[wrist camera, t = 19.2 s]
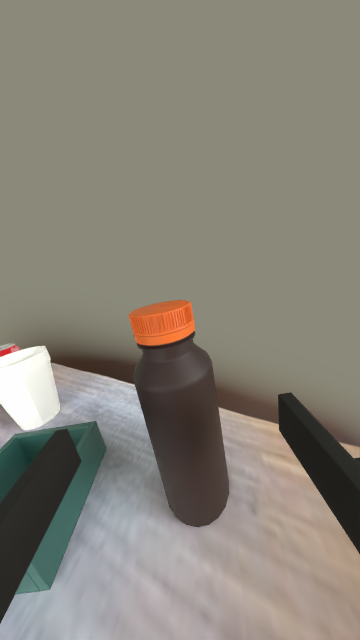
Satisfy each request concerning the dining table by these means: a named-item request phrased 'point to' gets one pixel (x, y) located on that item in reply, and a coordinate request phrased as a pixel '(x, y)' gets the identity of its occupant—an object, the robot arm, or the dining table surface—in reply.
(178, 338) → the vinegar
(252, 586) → the dining table surface
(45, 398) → the foam cup
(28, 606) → the dining table surface
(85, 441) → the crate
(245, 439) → the dining table surface
